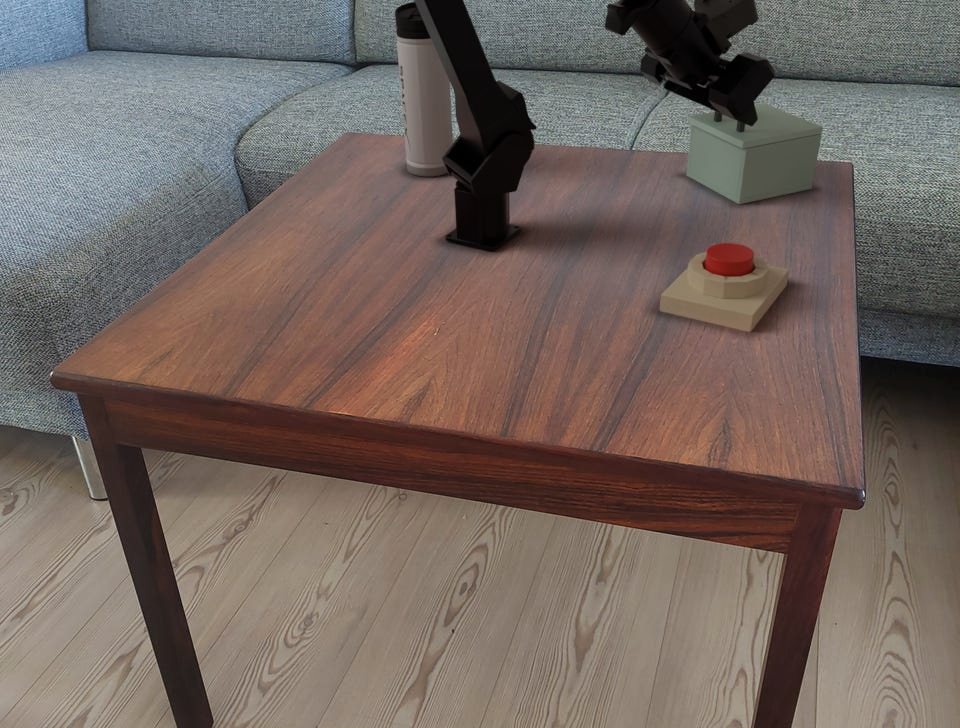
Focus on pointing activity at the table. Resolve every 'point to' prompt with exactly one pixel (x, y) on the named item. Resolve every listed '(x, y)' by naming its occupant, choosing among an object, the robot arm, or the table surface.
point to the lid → (756, 127)
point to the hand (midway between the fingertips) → (739, 116)
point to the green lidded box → (752, 166)
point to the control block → (724, 294)
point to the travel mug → (422, 95)
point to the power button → (729, 260)
